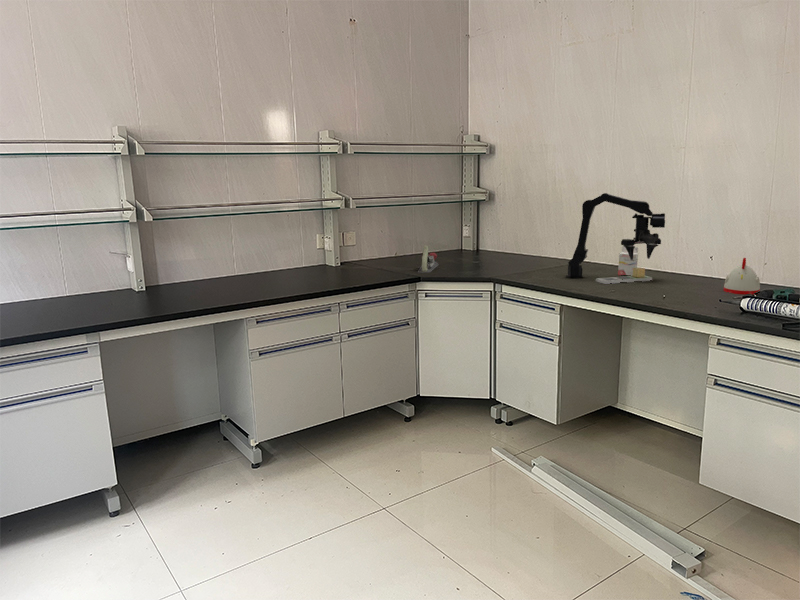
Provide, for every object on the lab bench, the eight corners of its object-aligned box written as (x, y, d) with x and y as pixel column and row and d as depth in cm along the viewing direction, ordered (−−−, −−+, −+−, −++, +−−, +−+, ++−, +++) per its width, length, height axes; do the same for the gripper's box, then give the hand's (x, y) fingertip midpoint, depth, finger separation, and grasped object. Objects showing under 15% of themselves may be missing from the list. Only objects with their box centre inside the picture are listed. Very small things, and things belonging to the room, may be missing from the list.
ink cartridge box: (617, 275, 309) (619, 247, 306) (619, 274, 313) (621, 246, 310) (634, 276, 304) (636, 248, 301) (636, 275, 308) (638, 247, 305)
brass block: (637, 281, 292) (637, 269, 291) (632, 279, 296) (633, 267, 295) (644, 280, 293) (645, 268, 292) (639, 279, 297) (640, 267, 295)
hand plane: (417, 273, 332) (416, 246, 329) (427, 264, 361) (427, 240, 358) (429, 273, 330) (429, 246, 327) (439, 265, 360) (439, 240, 357)
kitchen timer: (721, 292, 261) (725, 259, 257) (725, 287, 272) (728, 255, 269) (758, 295, 253) (762, 261, 250) (760, 290, 264) (764, 256, 261)
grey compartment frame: (604, 283, 286) (604, 280, 286) (595, 281, 294) (595, 277, 294) (652, 280, 292) (652, 277, 291) (642, 278, 299) (642, 274, 299)
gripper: (634, 229, 279) (632, 262, 283) (669, 227, 283) (667, 260, 286) (621, 227, 290) (619, 259, 293) (654, 226, 294) (652, 257, 297)
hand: (640, 259), depth 292 cm, fingers open, 9 cm apart
